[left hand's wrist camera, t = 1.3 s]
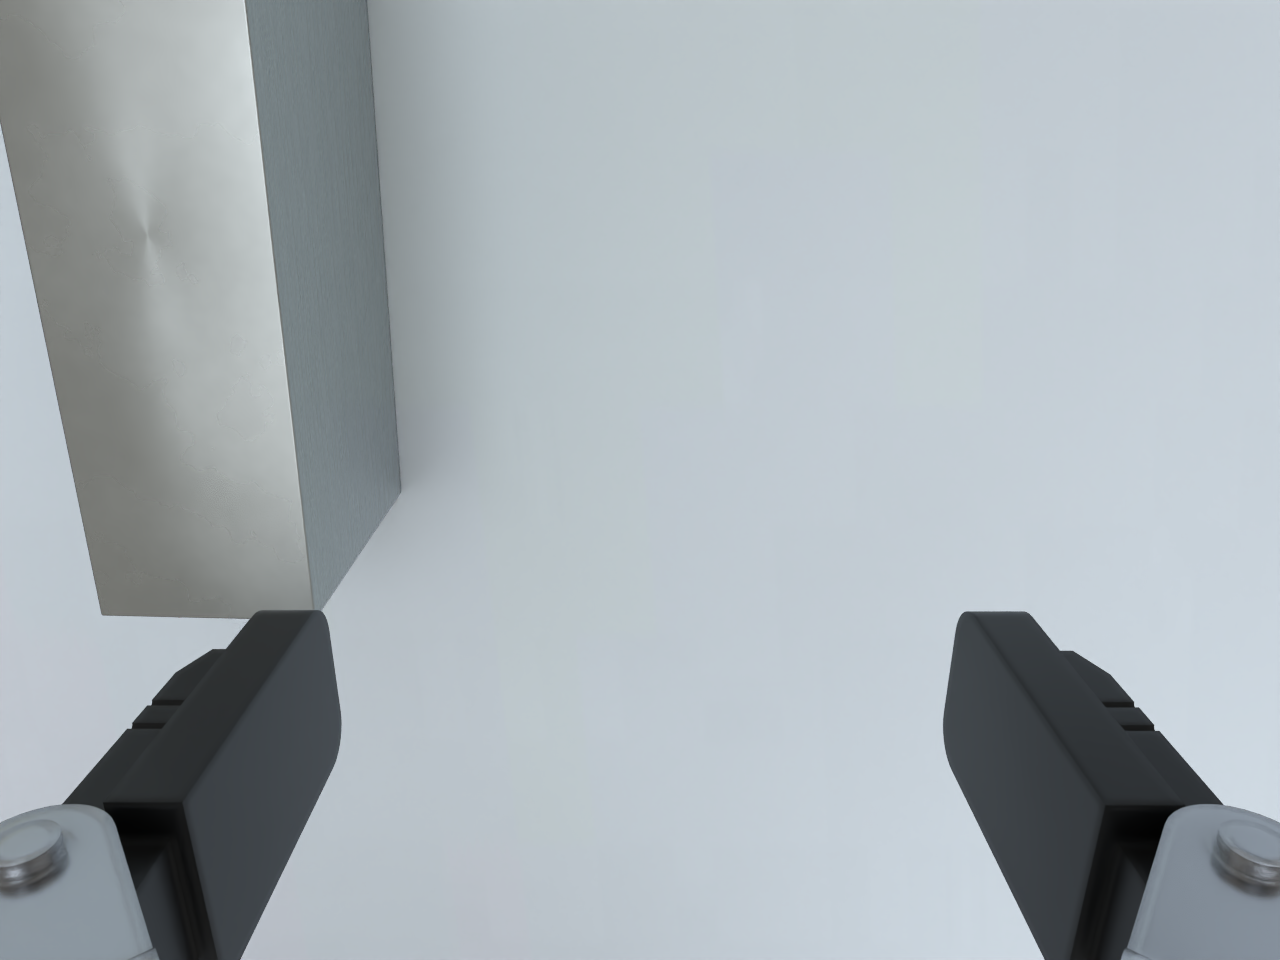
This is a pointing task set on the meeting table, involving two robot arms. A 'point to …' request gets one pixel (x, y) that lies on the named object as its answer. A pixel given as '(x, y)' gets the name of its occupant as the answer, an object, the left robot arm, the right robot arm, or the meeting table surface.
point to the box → (208, 289)
